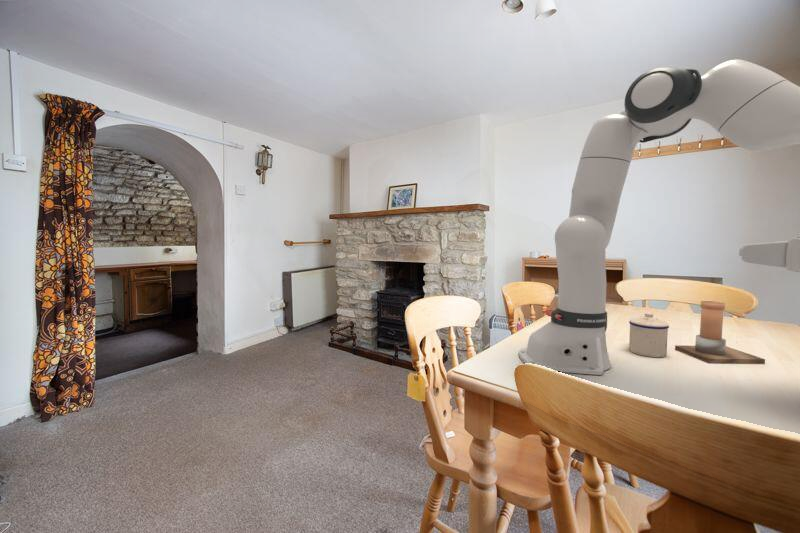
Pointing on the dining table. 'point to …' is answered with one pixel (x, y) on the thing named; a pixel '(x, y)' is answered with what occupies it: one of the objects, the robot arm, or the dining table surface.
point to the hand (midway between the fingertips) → (764, 252)
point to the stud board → (722, 359)
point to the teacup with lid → (648, 336)
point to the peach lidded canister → (711, 320)
